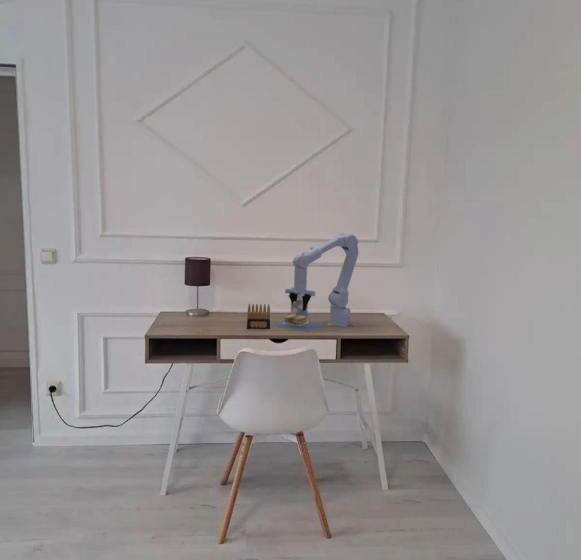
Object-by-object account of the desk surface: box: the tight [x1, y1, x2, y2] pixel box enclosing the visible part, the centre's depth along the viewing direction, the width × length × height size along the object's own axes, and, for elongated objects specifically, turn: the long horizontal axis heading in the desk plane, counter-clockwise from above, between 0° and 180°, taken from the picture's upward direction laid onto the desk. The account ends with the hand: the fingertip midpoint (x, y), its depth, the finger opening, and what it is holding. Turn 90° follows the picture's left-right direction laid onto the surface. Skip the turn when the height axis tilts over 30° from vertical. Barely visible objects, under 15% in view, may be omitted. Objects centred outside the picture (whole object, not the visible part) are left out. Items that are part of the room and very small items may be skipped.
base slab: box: [283, 314, 308, 325], centre depth 251 cm, size 8×8×3 cm
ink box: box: [290, 286, 309, 317], centre depth 269 cm, size 8×5×15 cm, turn 39°
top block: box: [293, 300, 306, 313], centre depth 242 cm, size 4×4×5 cm
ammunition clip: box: [246, 303, 271, 330], centre depth 236 cm, size 11×2×12 cm, turn 91°
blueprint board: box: [270, 319, 325, 332], centre depth 246 cm, size 20×18×1 cm
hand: (299, 309), depth 243 cm, fingers closed on top block, 4 cm apart
